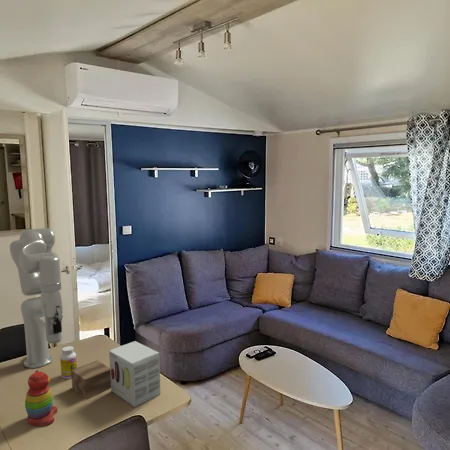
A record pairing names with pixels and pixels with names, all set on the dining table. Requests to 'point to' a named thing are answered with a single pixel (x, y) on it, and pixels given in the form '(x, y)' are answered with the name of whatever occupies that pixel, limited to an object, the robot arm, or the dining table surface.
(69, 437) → the dining table surface
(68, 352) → the supplement bottle
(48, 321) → the energy drink can
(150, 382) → the supplement box
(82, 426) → the dining table surface
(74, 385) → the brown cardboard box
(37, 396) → the stacking bear
